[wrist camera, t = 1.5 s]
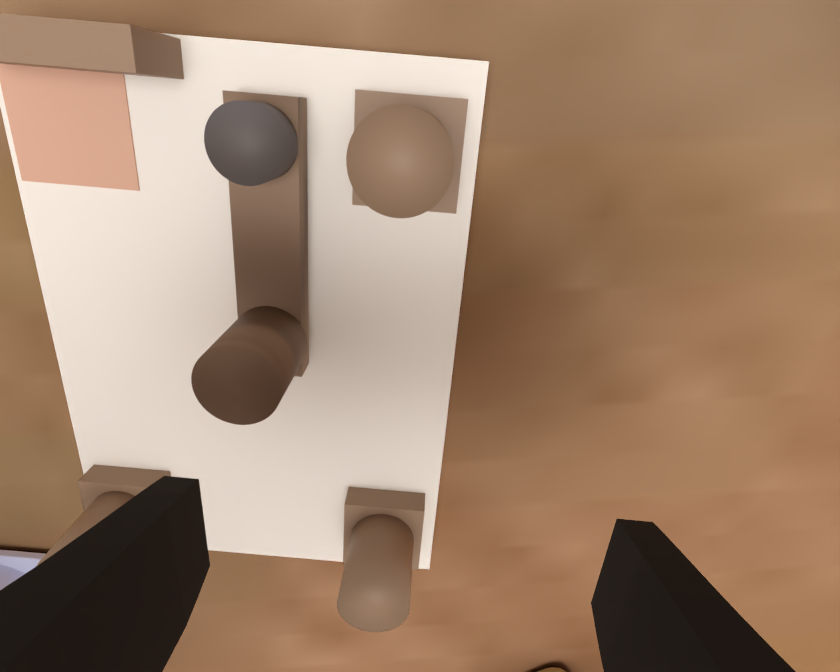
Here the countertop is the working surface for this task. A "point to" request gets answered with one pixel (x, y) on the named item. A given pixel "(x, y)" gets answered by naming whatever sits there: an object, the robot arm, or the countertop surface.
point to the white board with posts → (216, 290)
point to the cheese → (552, 670)
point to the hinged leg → (260, 255)
